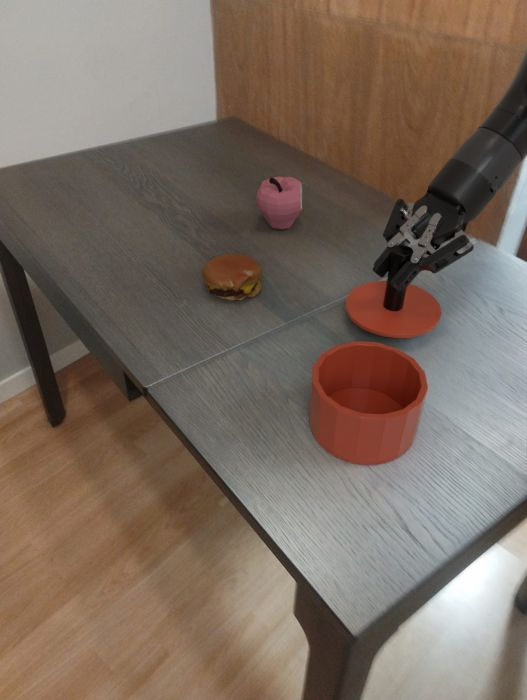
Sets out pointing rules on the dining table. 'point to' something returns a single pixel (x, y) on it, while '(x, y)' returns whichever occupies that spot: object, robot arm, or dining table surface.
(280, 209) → the apple
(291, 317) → the dining table surface
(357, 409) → the cup
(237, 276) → the burger
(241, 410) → the dining table surface
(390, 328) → the cooker lid
